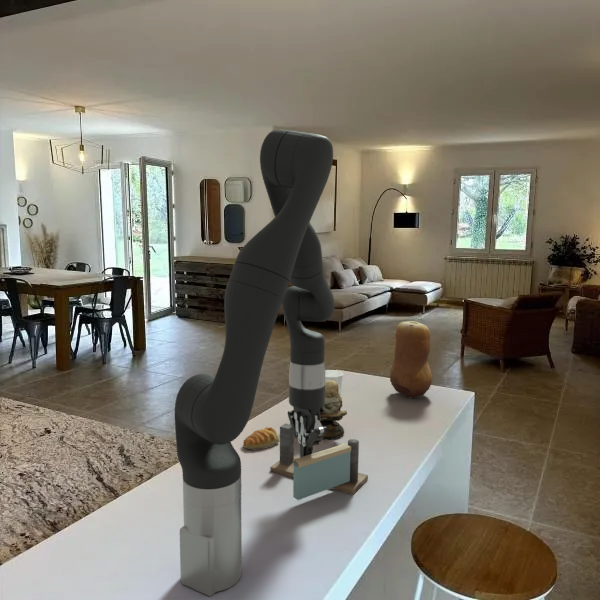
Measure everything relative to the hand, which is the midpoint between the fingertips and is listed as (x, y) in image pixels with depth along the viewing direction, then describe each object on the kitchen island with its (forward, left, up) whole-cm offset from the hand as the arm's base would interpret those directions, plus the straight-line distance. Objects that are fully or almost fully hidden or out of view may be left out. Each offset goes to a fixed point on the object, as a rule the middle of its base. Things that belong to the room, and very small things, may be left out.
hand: (306, 460), depth 116 cm
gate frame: (+8, +1, -7) cm, 11 cm away
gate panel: (+1, -4, -6) cm, 7 cm away
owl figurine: (+32, +14, -8) cm, 36 cm away
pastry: (+16, +22, -8) cm, 29 cm away
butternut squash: (+74, +2, -7) cm, 75 cm away
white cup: (+53, +21, -7) cm, 58 cm away
